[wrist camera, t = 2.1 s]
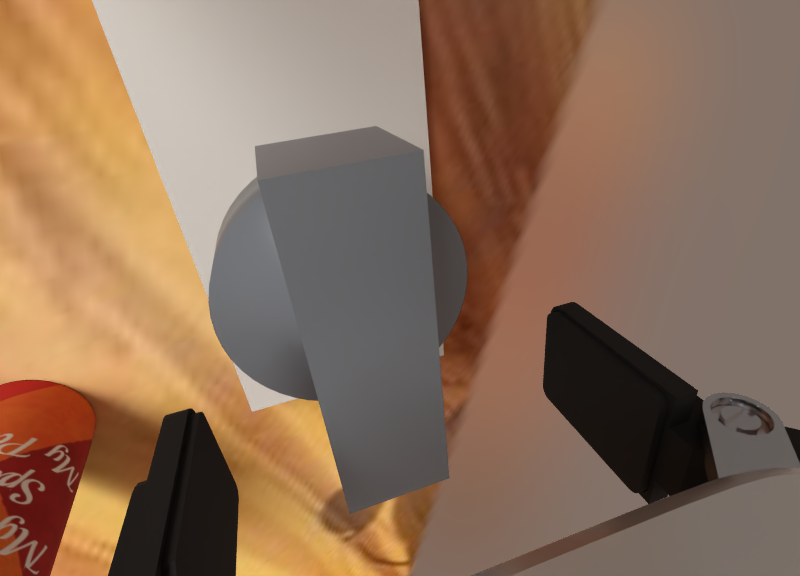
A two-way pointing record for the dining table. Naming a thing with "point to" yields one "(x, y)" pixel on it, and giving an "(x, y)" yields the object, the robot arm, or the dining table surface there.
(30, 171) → the dining table surface
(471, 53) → the dining table surface
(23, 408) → the paper cup
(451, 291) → the lock knob
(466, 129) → the dining table surface
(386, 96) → the base
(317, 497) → the dining table surface
